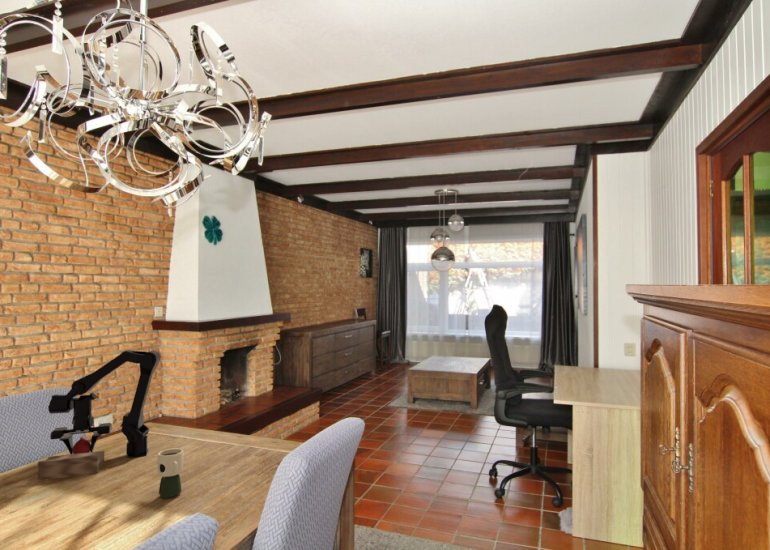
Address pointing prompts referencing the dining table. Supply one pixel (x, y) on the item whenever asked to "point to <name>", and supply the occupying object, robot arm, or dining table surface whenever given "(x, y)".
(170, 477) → the character mug
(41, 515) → the dining table surface
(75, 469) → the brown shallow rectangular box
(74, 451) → the onion
